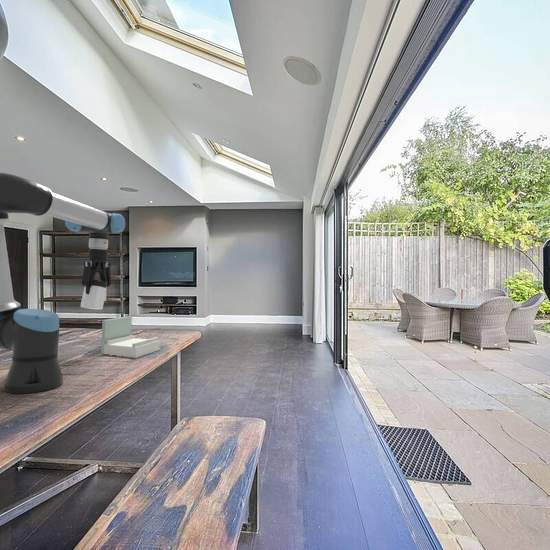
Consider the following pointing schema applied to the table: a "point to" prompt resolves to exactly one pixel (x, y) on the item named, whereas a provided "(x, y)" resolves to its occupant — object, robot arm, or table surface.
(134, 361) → the table surface
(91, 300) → the jar
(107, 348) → the display stand
